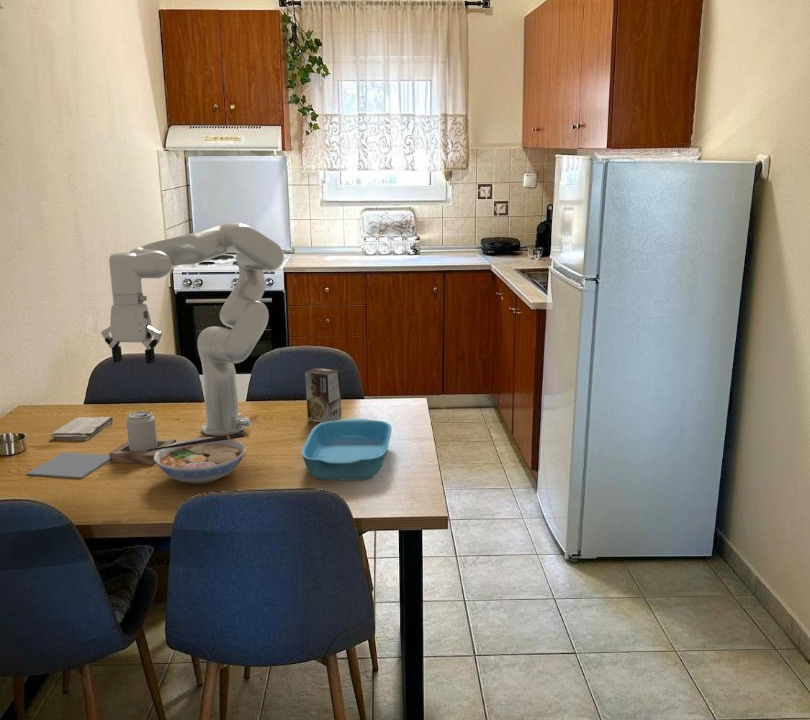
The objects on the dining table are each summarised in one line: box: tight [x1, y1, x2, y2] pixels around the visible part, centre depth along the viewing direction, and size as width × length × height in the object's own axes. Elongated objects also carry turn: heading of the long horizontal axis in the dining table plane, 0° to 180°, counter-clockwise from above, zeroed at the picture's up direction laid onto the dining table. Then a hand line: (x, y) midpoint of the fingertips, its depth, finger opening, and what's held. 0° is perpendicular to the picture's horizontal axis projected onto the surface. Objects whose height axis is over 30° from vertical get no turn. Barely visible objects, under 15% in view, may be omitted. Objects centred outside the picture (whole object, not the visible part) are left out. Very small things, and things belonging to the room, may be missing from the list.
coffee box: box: [304, 367, 343, 424], centre depth 248 cm, size 9×6×16 cm
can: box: [126, 410, 158, 453], centre depth 221 cm, size 8×8×12 cm
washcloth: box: [50, 416, 114, 442], centre depth 243 cm, size 12×18×3 cm, turn 177°
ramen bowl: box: [146, 432, 246, 485], centre depth 203 cm, size 25×23×8 cm
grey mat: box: [26, 451, 110, 480], centre depth 215 cm, size 16×16×1 cm
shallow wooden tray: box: [108, 438, 177, 465], centre depth 222 cm, size 13×13×2 cm
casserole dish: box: [301, 418, 392, 481], centre depth 214 cm, size 37×22×7 cm, turn 178°
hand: (134, 362), depth 216 cm, fingers open, 9 cm apart
